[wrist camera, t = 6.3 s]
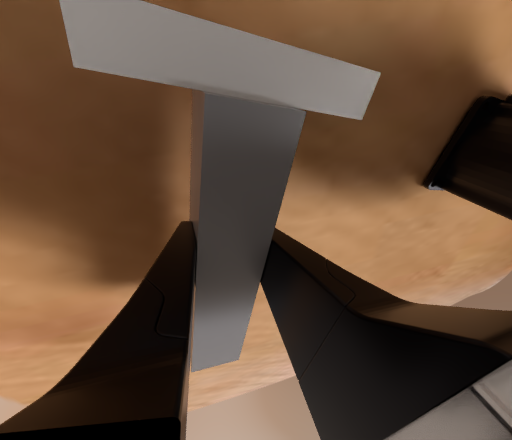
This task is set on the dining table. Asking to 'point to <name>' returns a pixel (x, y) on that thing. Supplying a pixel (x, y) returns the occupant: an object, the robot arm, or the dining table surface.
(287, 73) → the pusher tool
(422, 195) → the dining table surface
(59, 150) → the dining table surface
